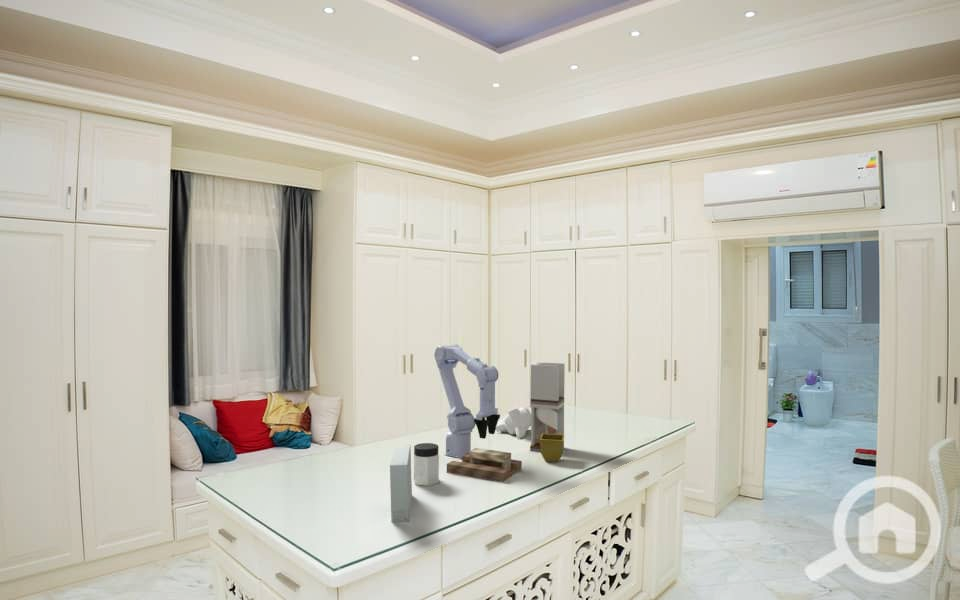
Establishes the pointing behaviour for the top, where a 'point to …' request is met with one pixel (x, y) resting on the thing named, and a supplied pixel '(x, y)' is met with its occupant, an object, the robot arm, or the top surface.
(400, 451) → the skincare box
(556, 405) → the grey dispenser tower
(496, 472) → the board
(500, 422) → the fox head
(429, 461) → the jar
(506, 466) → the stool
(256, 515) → the top surface
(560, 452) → the flower pot
